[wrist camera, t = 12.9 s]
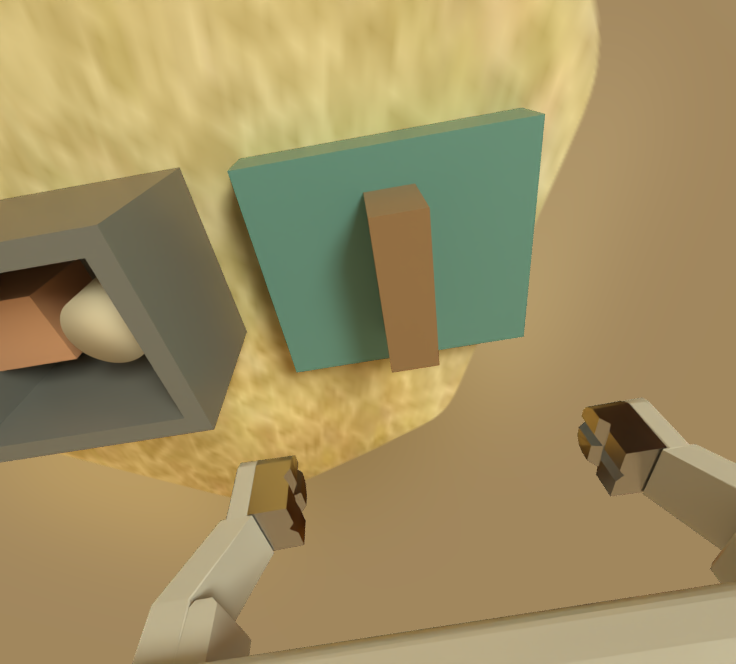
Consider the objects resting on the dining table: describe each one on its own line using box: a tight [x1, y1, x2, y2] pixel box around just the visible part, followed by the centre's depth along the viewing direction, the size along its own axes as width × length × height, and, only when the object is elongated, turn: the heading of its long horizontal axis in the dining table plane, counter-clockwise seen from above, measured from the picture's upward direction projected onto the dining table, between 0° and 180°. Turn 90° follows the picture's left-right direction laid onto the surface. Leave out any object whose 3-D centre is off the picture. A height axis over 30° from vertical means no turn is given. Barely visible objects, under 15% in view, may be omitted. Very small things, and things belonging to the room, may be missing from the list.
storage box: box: [0, 168, 247, 462], centre depth 19 cm, size 12×10×8 cm
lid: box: [228, 108, 545, 372], centre depth 20 cm, size 14×12×6 cm
